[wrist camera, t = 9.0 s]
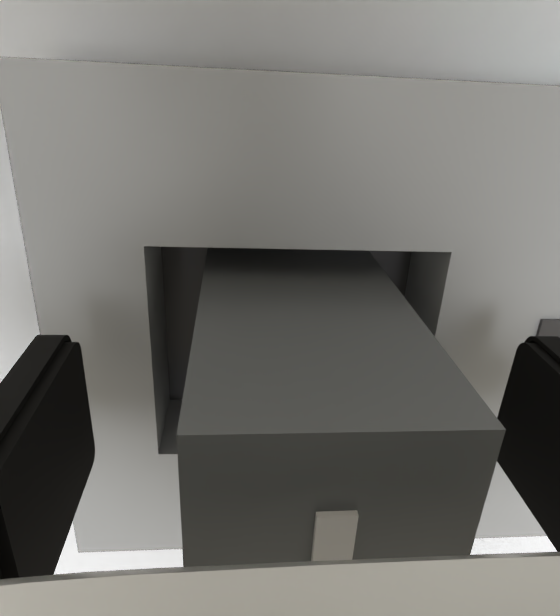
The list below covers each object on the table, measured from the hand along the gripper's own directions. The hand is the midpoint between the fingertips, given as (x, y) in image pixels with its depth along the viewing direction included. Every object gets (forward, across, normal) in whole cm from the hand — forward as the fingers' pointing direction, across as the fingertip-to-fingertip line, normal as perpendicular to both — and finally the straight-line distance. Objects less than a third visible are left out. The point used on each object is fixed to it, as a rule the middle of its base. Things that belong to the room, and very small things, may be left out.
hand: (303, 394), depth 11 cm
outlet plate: (+5, -3, 0) cm, 6 cm away
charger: (+4, 0, 0) cm, 4 cm away
